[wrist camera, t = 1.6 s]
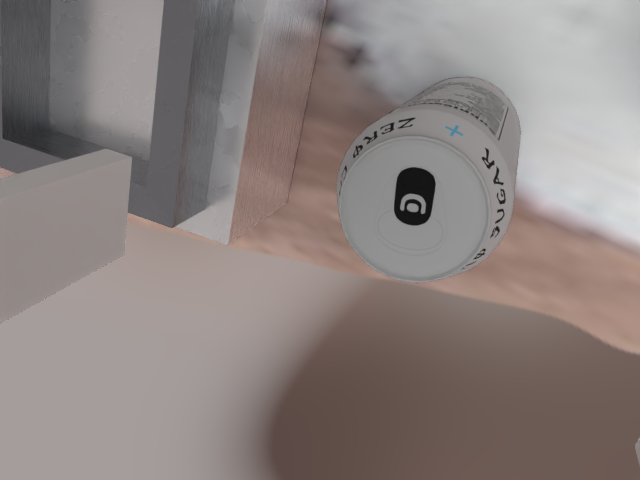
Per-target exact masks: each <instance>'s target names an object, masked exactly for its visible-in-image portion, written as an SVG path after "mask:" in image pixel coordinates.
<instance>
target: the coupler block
mask: <svg viewBox="0 0 640 480" xmlns="http://www.w3.org/2000/svg"><path fill="white" fill-rule="evenodd" d="M326 4H327V0H0V167H1V168H4V169H7V170H9V171H12V172H15V173H22V172H25V171H29V170H32V169H36V168H39V167H43V166H46V165H50V164H53V163H57V162H61V161H64V160H68V159H71V158H75V157H78V156H82V155H85V154H89V153H92V152H96V151H99V150H103V149H109V150H112V151H115V152H118V153H121V154H124V155H127V156H130V157H132V165H131V177H130V190H129V202H128V213H131V214H134V215H137V216H140V217H142V218H145V219H148V220H151V221H154V222H157V223H159V224H162V225H165V226H168V227H171V228H173V227H176V228H179V229H182V230H185V231H188V232H191V233H193V234H196V235H199V236H202V237H205V238H208V239H210V240H213V241H216V242H219V243H222V244H225V245H227V246H228V245H229V244H231V243H232V242H234V241H235V240H236V239H238V238H239V237H240V236H242V235H243V234H244V233H246V232H247V231H249V230H250V229H251V228H253V227H254V226H255V225H257V224H258V223H260V222H261V221H262V220H264V219H265V218H266V217H268V216H269V215H271V214H272V213H273V212H275V211H276V210H277V209H279V208H280V207H281V206H283V205H284V204H286V203H287V200H288V195H289V190H290V185H291V180H292V175H293V170H294V165H295V160H296V155H297V150H298V145H299V140H300V135H301V130H302V125H303V120H304V114H305V109H306V104H307V99H308V94H309V89H310V84H311V79H312V74H313V69H314V64H315V59H316V54H317V49H318V44H319V39H320V34H321V29H322V24H323V19H324V14H325V9H326Z"/></svg>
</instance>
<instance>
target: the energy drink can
mask: <svg viewBox="0 0 640 480" xmlns="http://www.w3.org/2000/svg"><path fill="white" fill-rule="evenodd" d="M520 135H521V130H520V122H519V118H518V115H517V112H516V110H515V108H514V106H513V105H512V103H511V101H510V100H509V98H508V97H507V96H506V95H505V94H504V93H503V92H502V91H501V90H499V89H498V88H496V87H495V86H494V85H492V84H490V83H488V82H485V81H483V80H480V79H475V78H470V77H457V78H452V79H447V80H444V81H442V82H439V83H437V84H435V85H433V86H432V87H430V88H428V89H427V90H425V91H424V92H422V93H420V94H419V95H417V96H416V97H414V98H412V99H411V100H409V101H408V102H406V103H404V104H403V105H401V106H400V107H398V108H396V109H395V110H393V111H392V112H390V113H388V114H387V115H385V116H384V117H382V118H380V119H379V120H377V121H376V122H374V123H373V124H371V125H370V126H368V127H367V128H366V129H365V130H364V131H363V132H362V133H361V134H360V135H359V136H358V137H357V138H356V139H355V140H354V141H353V143H352V144H351V146H350V147H349V149H348V151H347V152H346V154H345V156H344V159H343V161H342V164H341V166H340V169H339V174H338V180H337V203H338V208H339V216H340V220H341V225H342V229H343V231H344V233H345V236H346V238H347V240H348V242H349V244H350V245H351V247H352V248H353V250H354V251H355V253H356V254H357V255H358V256H359V257H360V258H361V259H362V260H363V261H364V262H365V263H366V264H368V265H369V266H370V267H372V268H373V269H374V270H376V271H378V272H380V273H382V274H384V275H386V276H388V277H390V278H394V279H397V280H400V281H406V282H415V283H420V282H432V281H436V280H440V279H443V278H447V277H451V276H454V275H458V274H461V273H463V272H465V271H467V270H469V269H471V268H473V267H475V266H476V265H478V264H479V263H480V262H481V261H483V260H484V259H485V258H487V257H488V256H489V255H490V254H491V252H492V251H493V250H494V249H495V248H496V247H497V246H498V245H499V243H500V241H501V240H502V238H503V236H504V234H505V232H506V231H507V229H508V225H509V222H510V219H511V216H512V213H513V203H514V194H515V184H516V175H517V165H518V155H519V146H520Z"/></svg>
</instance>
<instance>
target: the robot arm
mask: <svg viewBox="0 0 640 480" xmlns="http://www.w3.org/2000/svg"><path fill="white" fill-rule="evenodd" d="M131 165H132V157H130V156H127V155H124V154H121V153H118V152H115V151H112V150H109V149H103V150H99V151H96V152H92V153H89V154H85V155H82V156H78V157H75V158H71V159H68V160H64V161H61V162H57V163H53V164H50V165H46V166H43V167H39V168H36V169H32V170H29V171H25V172H22V173H18V174H15V175H11V176H8V177H4V178H0V323H2V322H4V321H6V320H8V319H9V318H11V317H13V316H15V315H17V314H19V313H20V312H22V311H24V310H26V309H27V308H29V307H31V306H33V305H35V304H36V303H38V302H40V301H42V300H44V299H46V298H47V297H49V296H51V295H53V294H54V293H56V292H58V291H60V290H62V289H63V288H65V287H67V286H69V285H71V284H72V283H74V282H76V281H78V280H80V279H81V278H83V277H85V276H87V275H89V274H90V273H92V272H94V271H96V270H98V269H99V268H101V267H103V266H105V265H107V264H108V263H110V262H112V261H114V260H116V259H117V258H119V257H121V256H123V255H124V250H125V238H126V226H127V214H128V202H129V190H130V177H131ZM635 448H636V452H637V456H638V460H639V464H640V437H639V439H638V441H637V443H636V445H635Z"/></svg>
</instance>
